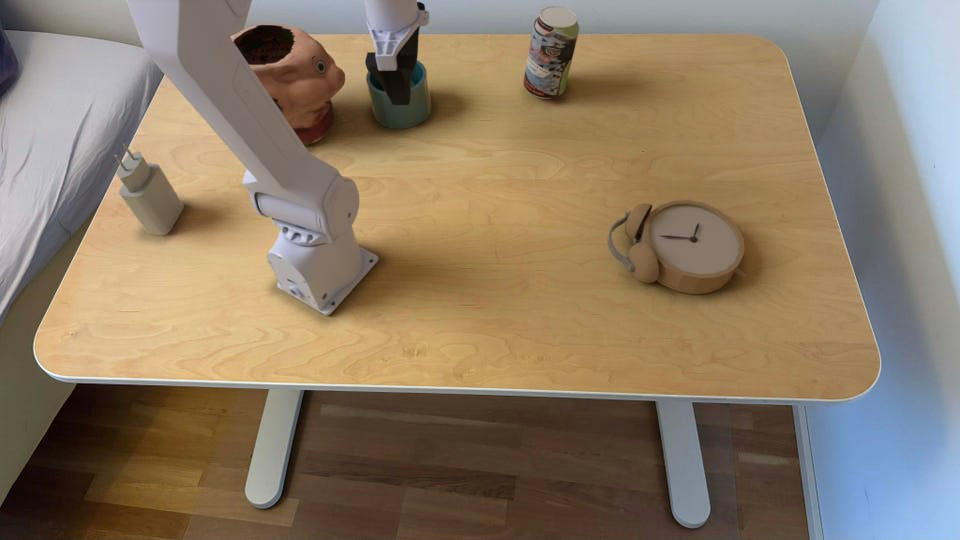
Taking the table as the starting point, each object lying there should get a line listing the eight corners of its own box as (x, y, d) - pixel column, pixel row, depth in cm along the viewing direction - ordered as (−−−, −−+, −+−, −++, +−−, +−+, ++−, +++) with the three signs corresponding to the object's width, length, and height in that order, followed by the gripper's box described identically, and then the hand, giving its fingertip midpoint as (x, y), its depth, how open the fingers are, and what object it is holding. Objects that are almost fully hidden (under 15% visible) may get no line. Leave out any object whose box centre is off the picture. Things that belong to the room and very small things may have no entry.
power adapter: (185, 204, 86) (143, 134, 76) (166, 236, 83) (120, 167, 73) (164, 201, 86) (119, 131, 77) (144, 233, 83) (94, 165, 74)
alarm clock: (755, 282, 71) (618, 263, 70) (734, 307, 75) (605, 289, 74) (739, 204, 77) (613, 185, 76) (721, 230, 81) (601, 213, 80)
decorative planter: (209, 159, 91) (164, 75, 79) (229, 101, 98) (191, 16, 87) (353, 154, 90) (329, 69, 78) (363, 96, 97) (342, 9, 86)
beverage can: (516, 85, 97) (515, 10, 87) (560, 70, 98) (564, -5, 88) (536, 110, 93) (538, 36, 83) (582, 94, 95) (589, 19, 85)
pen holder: (408, 136, 91) (402, 102, 86) (362, 116, 94) (353, 82, 89) (442, 102, 95) (438, 67, 90) (397, 84, 98) (390, 49, 93)
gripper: (416, 18, 66) (431, 122, 77) (430, -57, 75) (442, 46, 86) (347, 19, 67) (371, 122, 78) (368, -56, 75) (388, 47, 86)
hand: (404, 82), depth 82 cm, fingers open, 7 cm apart
